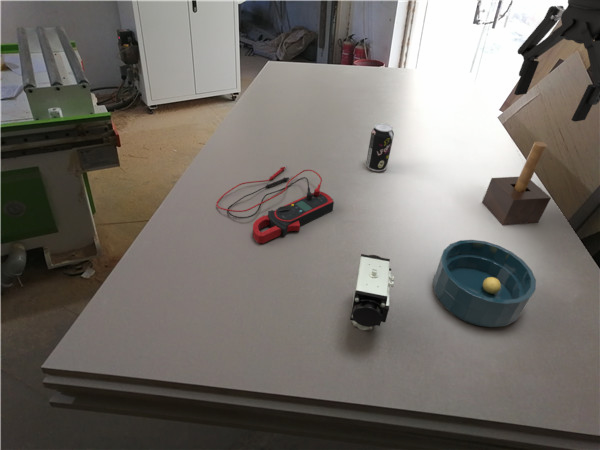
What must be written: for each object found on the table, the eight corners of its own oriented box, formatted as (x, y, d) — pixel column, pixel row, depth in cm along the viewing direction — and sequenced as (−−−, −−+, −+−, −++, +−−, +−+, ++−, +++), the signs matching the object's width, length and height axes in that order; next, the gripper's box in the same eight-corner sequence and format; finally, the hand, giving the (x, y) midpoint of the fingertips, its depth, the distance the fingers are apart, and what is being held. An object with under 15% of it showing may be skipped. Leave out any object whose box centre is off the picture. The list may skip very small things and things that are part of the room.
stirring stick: (510, 208, 98) (542, 141, 87) (516, 214, 96) (549, 146, 85) (501, 209, 97) (532, 141, 86) (507, 215, 96) (539, 146, 84)
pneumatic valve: (345, 345, 65) (355, 295, 57) (353, 292, 74) (363, 243, 66) (379, 353, 64) (394, 302, 57) (383, 298, 73) (396, 249, 66)
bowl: (490, 263, 82) (503, 237, 78) (538, 325, 70) (556, 298, 66) (418, 269, 80) (427, 242, 75) (455, 335, 68) (468, 307, 63)
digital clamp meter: (351, 192, 92) (262, 234, 79) (349, 208, 95) (262, 251, 82) (287, 151, 106) (202, 181, 92) (287, 166, 108) (204, 197, 95)
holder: (515, 200, 101) (526, 176, 97) (538, 222, 94) (551, 197, 90) (481, 202, 100) (491, 177, 95) (502, 225, 92) (513, 200, 88)
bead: (492, 284, 76) (497, 272, 74) (500, 296, 74) (506, 284, 72) (477, 285, 75) (482, 274, 74) (485, 297, 73) (491, 286, 71)
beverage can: (390, 166, 111) (398, 126, 104) (381, 175, 107) (389, 133, 100) (371, 160, 113) (378, 120, 106) (361, 168, 110) (368, 127, 102)
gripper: (525, -30, 74) (486, 86, 87) (668, -6, 56) (592, 135, 69) (554, -30, 76) (512, 83, 89) (700, -7, 58) (620, 130, 71)
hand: (547, 106), depth 79 cm, fingers open, 13 cm apart
